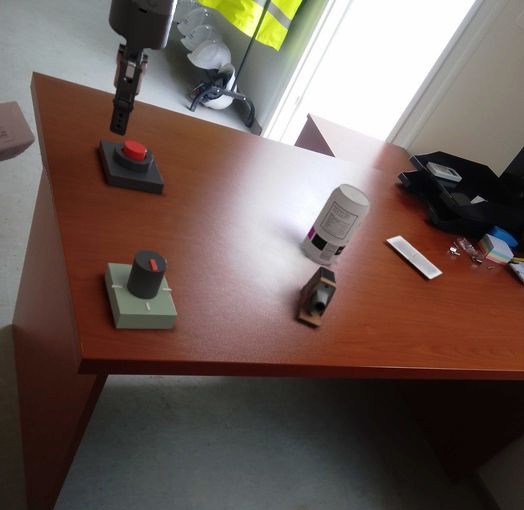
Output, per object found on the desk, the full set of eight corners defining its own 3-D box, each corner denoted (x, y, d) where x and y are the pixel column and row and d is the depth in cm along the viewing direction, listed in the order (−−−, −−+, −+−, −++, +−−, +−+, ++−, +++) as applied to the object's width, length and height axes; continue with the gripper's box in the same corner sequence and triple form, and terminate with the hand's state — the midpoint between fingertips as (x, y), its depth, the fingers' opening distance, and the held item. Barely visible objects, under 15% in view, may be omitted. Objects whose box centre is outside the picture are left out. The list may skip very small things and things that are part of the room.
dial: (124, 276, 65) (132, 246, 61) (154, 278, 67) (163, 249, 64) (129, 298, 63) (138, 268, 59) (160, 300, 65) (171, 271, 61)
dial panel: (102, 277, 67) (106, 261, 65) (158, 281, 72) (163, 266, 70) (113, 328, 62) (118, 312, 60) (173, 329, 67) (179, 314, 65)
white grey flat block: (397, 238, 122) (402, 232, 120) (439, 276, 117) (445, 269, 116) (383, 243, 116) (388, 236, 115) (427, 282, 112) (433, 276, 110)
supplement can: (295, 240, 98) (329, 179, 88) (323, 242, 103) (359, 185, 93) (311, 265, 94) (349, 204, 84) (340, 267, 99) (380, 209, 89)
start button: (121, 146, 87) (122, 138, 85) (142, 151, 89) (144, 143, 87) (125, 158, 84) (126, 149, 83) (146, 162, 87) (148, 154, 85)
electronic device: (295, 321, 80) (316, 290, 75) (299, 290, 87) (318, 259, 82) (317, 331, 81) (339, 301, 76) (319, 299, 88) (340, 270, 83)
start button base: (98, 149, 89) (101, 130, 87) (148, 160, 95) (153, 142, 92) (108, 185, 83) (112, 165, 80) (161, 194, 88) (166, 176, 86)
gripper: (119, -32, 60) (98, 91, 71) (109, -5, 51) (87, 132, 62) (174, -4, 63) (146, 110, 74) (174, 26, 54) (142, 151, 65)
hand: (119, 120), depth 68 cm, fingers open, 8 cm apart
